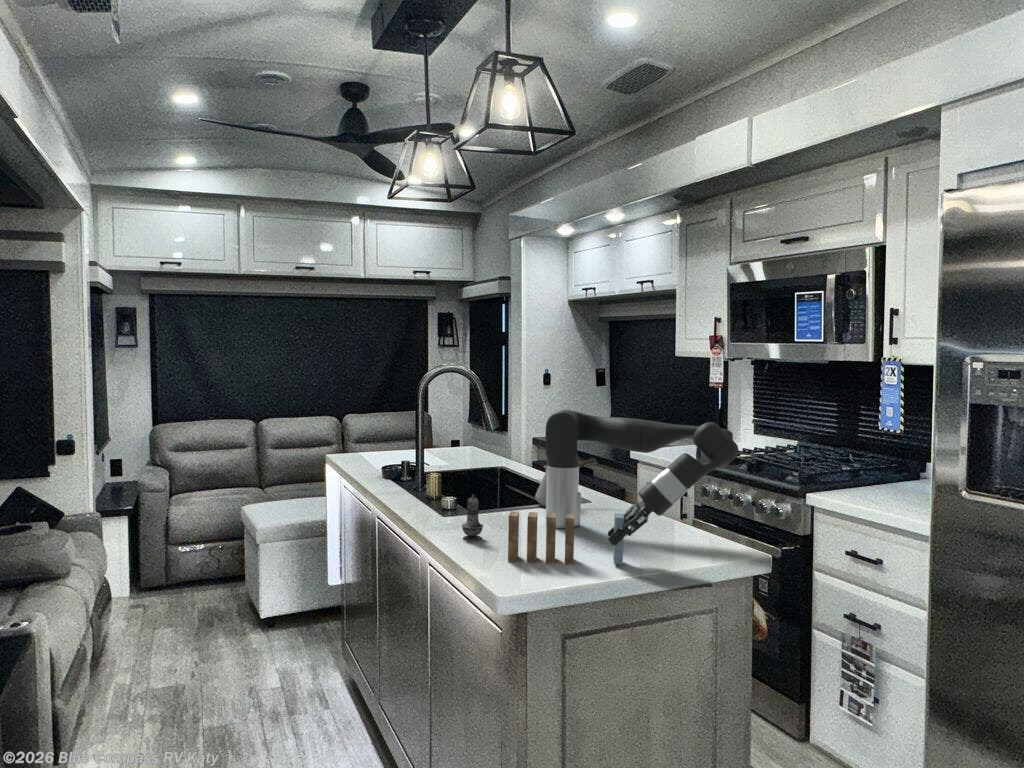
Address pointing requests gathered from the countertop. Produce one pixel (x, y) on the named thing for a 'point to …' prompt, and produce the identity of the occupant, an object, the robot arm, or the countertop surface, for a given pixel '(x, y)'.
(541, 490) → the coffee pot
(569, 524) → the domino
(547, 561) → the domino
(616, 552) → the blue domino
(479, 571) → the countertop surface
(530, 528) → the domino
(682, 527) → the countertop surface
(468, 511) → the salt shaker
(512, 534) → the domino
